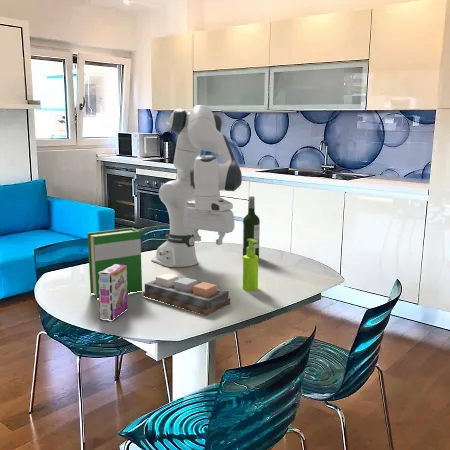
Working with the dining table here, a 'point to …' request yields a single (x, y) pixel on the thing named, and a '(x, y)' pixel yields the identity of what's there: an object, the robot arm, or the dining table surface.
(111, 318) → the candy bar box
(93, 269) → the hardback book
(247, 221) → the wine bottle
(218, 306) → the compartment tray
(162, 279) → the cream key
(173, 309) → the dining table surface
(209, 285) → the terracotta key
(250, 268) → the soap dispenser
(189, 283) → the grey key
